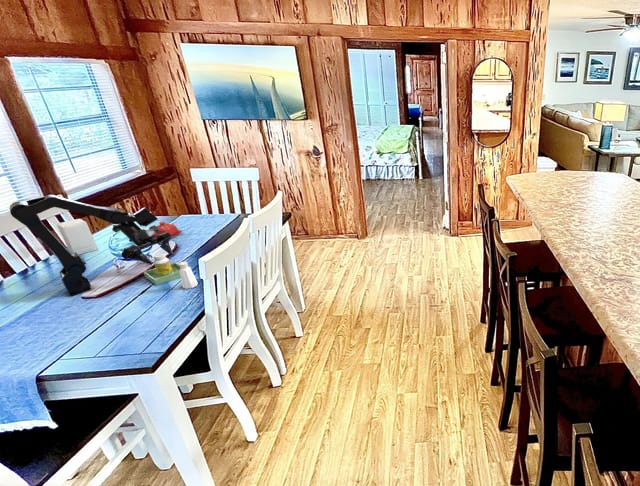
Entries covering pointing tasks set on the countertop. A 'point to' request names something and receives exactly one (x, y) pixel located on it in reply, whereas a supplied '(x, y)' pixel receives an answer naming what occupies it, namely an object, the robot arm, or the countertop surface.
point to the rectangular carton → (77, 236)
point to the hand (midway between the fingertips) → (162, 259)
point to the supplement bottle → (162, 265)
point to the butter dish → (167, 229)
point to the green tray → (157, 280)
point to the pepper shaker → (187, 276)
